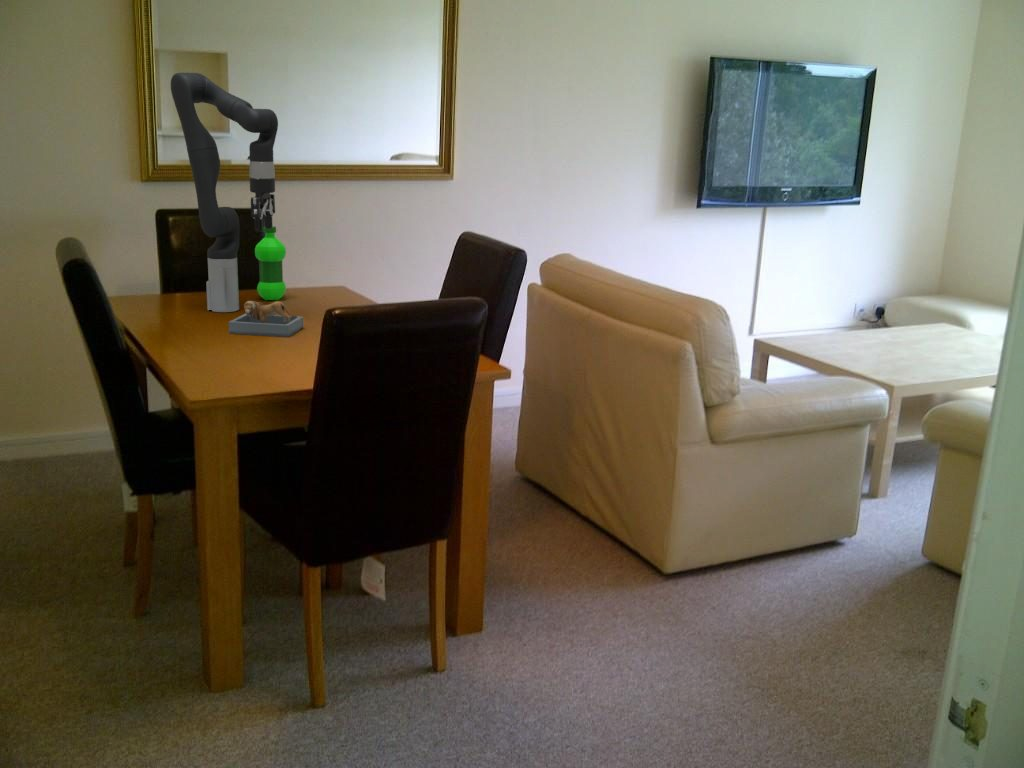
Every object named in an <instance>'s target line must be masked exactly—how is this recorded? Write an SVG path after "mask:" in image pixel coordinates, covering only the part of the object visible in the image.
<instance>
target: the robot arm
mask: <svg viewBox="0 0 1024 768" xmlns="http://www.w3.org/2000/svg"><path fill="white" fill-rule="evenodd" d="M170 91H171V96H172V99H173V104H174V106H175V109H176V113H177V115H178V118H179V122H180V125H181V128H182V129H181V130H182V133H183V137H184V141H185V147H186V150H187V152H186V153H187V157H188V160H189V164H190V168H191V172H192V178H193V182H194V188H195V193H196V199H197V207H198V208H197V210H198V218H199V223H200V226H201V227H200V228H201V229H202V231H203V232H204V234H205V235H206V236H207V237H209V238H215V242H214V243H213V244H212V245H211V246H210V247H209V248H208V249H207V250H206V252H207V269H208V270H207V272H208V280H207V281H206V283H205V284H206V286H205V287H206V304H207V305H206V307H207V311H209V310H212V311H211V312H214V313H230V312H237V311H239V310H240V299H239V274H238V273H239V272H238V271H239V270H238V251H239V248H240V219H239V216H238V213H237V212H236V210H235V209H233V208H232V207H231V206H219V204H218V199H217V193H216V192H217V191H216V190H217V184H218V183H217V182H218V180H219V179H218V178H219V175H220V171H221V159H220V154H219V149H218V145H217V142H216V140H215V139H214V137H213V136H212V135H211V133H210V132H209V130H207V128H206V126H205V125H204V124H203V123H202V122H201V119H200V118H199V116H198V114H197V111H196V106H195V104H200V103H201V104H203V103H204V104H207V105H208V104H209V105H212V106H214V107H216V109H217V111H218V112H219V113H220V114H221V115H222V116H224V117H225V118H227V119H229V120H231V121H233V122H235V123H237V124H238V125H239V126H240V127H241V128H242V129H243V130H245V131H247V132H249V133H253V134H259V135H258V138H257V139H256V140H254V141H252V142H250V143H249V146H248V147H249V167H248V170H249V171H248V172H249V174H248V176H249V192H250V193H254V194H255V196H252V197H251V196H250V197H251V198H250V217H251V218H253V219H254V231H255V232H256V233H261V232H263V227H265V228H272V227H273V216H274V214H275V213H276V204H275V203H276V201H275V200H276V199H275V197H276V196H275V194H272V193H275V192H276V176H275V175H276V174H275V173H276V172H275V171H276V170H275V164H274V163H275V162H274V146H275V142H276V139H277V133H278V128H279V121H278V117H277V114H276V113H275V111H273V110H272V109H270V108H253V106H252V104H251V103H249V102H248V101H247V100H245V99H242V98H240V97H238V96H236V95H234V94H232V93H230V92H228V91H226V90H225V89H223V88H222V87H220V86H219V85H217V84H216V83H215V82H214V81H212V80H211V79H210V78H208V77H207V76H205V75H204V74H202V73H198V72H176V73H174V74H173V75H172V77H171V79H170ZM263 216H264V224H263Z"/></svg>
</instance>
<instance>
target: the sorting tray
mask: <svg viewBox="0 0 1024 768" xmlns="http://www.w3.org/2000/svg"><path fill="white" fill-rule="evenodd" d="M288 316H289V318H290V322H288V323H287V322H286V321H285V322H282V320H284V317H283V316H281V315H279V314H275V315H273V316H271V317H267V321H268V323H262V322H261V320H256V319H255V318H253V317H250V316H248V315H247V314H246V313H245V312H244V314H242V315H239V316H238V317H235V318H234V319H232V320H229V321H228V334H229V335H242V336H243V335H244V336H245V335H246V336H247V335H248V336H260V335H261V336H265V337H276V336H277V338H278V337H281V338H291V336H293V335H294V333H295V334H297V331H298V332H299V331H301V330H302V329H301V328H303V329H304V317H303V316H297V315H296V316H297V317H296V318H293V317H292V316H290V315H288ZM286 320H287V318H286ZM300 329H301V330H300Z"/></svg>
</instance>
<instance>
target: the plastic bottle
mask: <svg viewBox="0 0 1024 768" xmlns="http://www.w3.org/2000/svg"><path fill="white" fill-rule="evenodd" d="M272 226H273V225H272ZM262 232H263V233H264V237H263V238H262V239H261V240H260V241H259V242H257V244H256V245H255V248H254V255H255V258H256V259H257V260H258V267H259V270H258V274H259V282H258V284H257V287H256V291H257V294H258V295H259V296H260V297H261V298H262V299H264V301H267V300H276V301H280V299H281V298H282V297H284V295H285V293H286V291H287V286H286V284H285V282H284V276H283V260H284V259H285V257H286V253H287V252H286V251H287V249H286V246H285V244H284V243H282V242H281V240H279V238H278V237H276V236H275V235H276V234H275V233H277V226H273V227H272V228H265V226H263V231H262Z"/></svg>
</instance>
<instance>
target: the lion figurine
mask: <svg viewBox="0 0 1024 768" xmlns="http://www.w3.org/2000/svg"><path fill="white" fill-rule="evenodd" d="M243 307H244V314H245V313H246V314H247V315H248V316H250V317H253V318H255V319H256V320H261V322H262V323H268V321H267V317H271V316H273V315H281V316H283V317H284V320H282V322H285V321H286V322H287V323H288V322H290V318H289V316H292V317H293V318H296V317H297V315H294V314H291V312H290V311H289V309H288V308H287V306H286V305H285V304H284V303H283V302H281V301H280V300H276V301H273V302H272V303H270V304H266V303H265V304H264V303H263V302H262V301H261V302H259V301H256V300H255V301H254V300H247V301H245V303H244V304H243ZM285 311H286V312H287V313H286V312H285ZM286 318H287V320H286Z"/></svg>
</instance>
